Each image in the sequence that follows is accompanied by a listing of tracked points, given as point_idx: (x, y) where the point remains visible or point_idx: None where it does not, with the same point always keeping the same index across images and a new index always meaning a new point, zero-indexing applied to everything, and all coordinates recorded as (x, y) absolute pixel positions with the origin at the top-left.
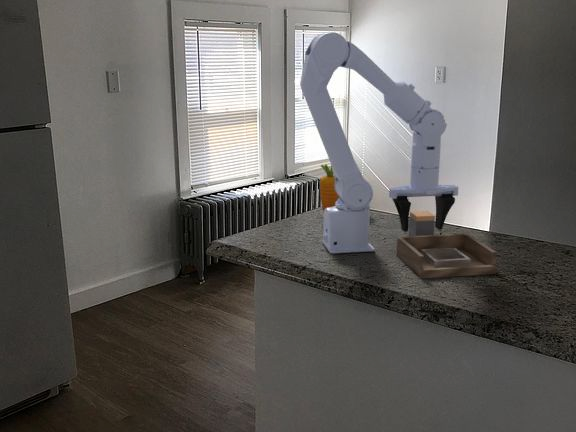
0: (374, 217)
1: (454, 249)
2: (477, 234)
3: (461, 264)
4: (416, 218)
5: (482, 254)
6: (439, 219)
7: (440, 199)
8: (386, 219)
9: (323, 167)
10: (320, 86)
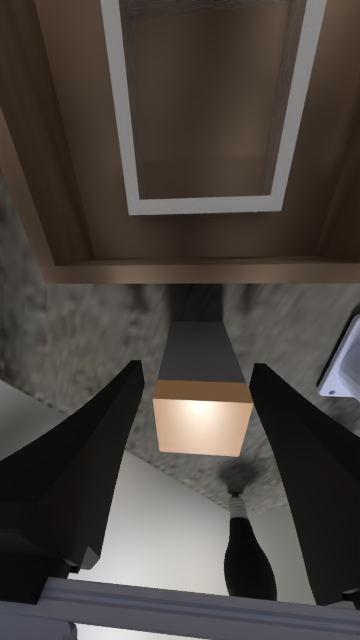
0: (211, 475)
1: (137, 182)
2: (43, 381)
3: None
4: (248, 395)
5: (8, 15)
6: (128, 393)
7: (78, 524)
8: (195, 466)
9: None
10: None
